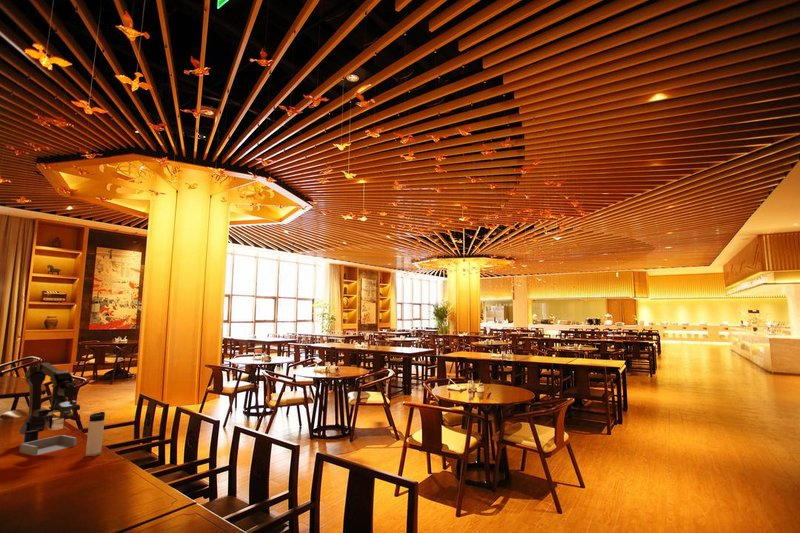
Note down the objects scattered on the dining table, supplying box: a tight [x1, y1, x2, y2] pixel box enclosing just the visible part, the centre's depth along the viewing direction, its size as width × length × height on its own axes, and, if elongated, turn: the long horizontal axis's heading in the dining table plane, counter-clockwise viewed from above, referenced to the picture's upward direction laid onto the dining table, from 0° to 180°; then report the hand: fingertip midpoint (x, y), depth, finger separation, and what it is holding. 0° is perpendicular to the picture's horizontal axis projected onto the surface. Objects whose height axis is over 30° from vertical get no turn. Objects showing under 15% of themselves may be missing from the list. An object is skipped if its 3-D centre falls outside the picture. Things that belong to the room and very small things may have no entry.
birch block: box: [47, 417, 65, 431], centre depth 212 cm, size 4×4×5 cm
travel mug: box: [85, 411, 106, 457], centre depth 207 cm, size 6×7×20 cm
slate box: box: [19, 434, 77, 457], centre depth 212 cm, size 13×18×4 cm
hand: (55, 427), depth 212 cm, fingers closed on birch block, 4 cm apart
